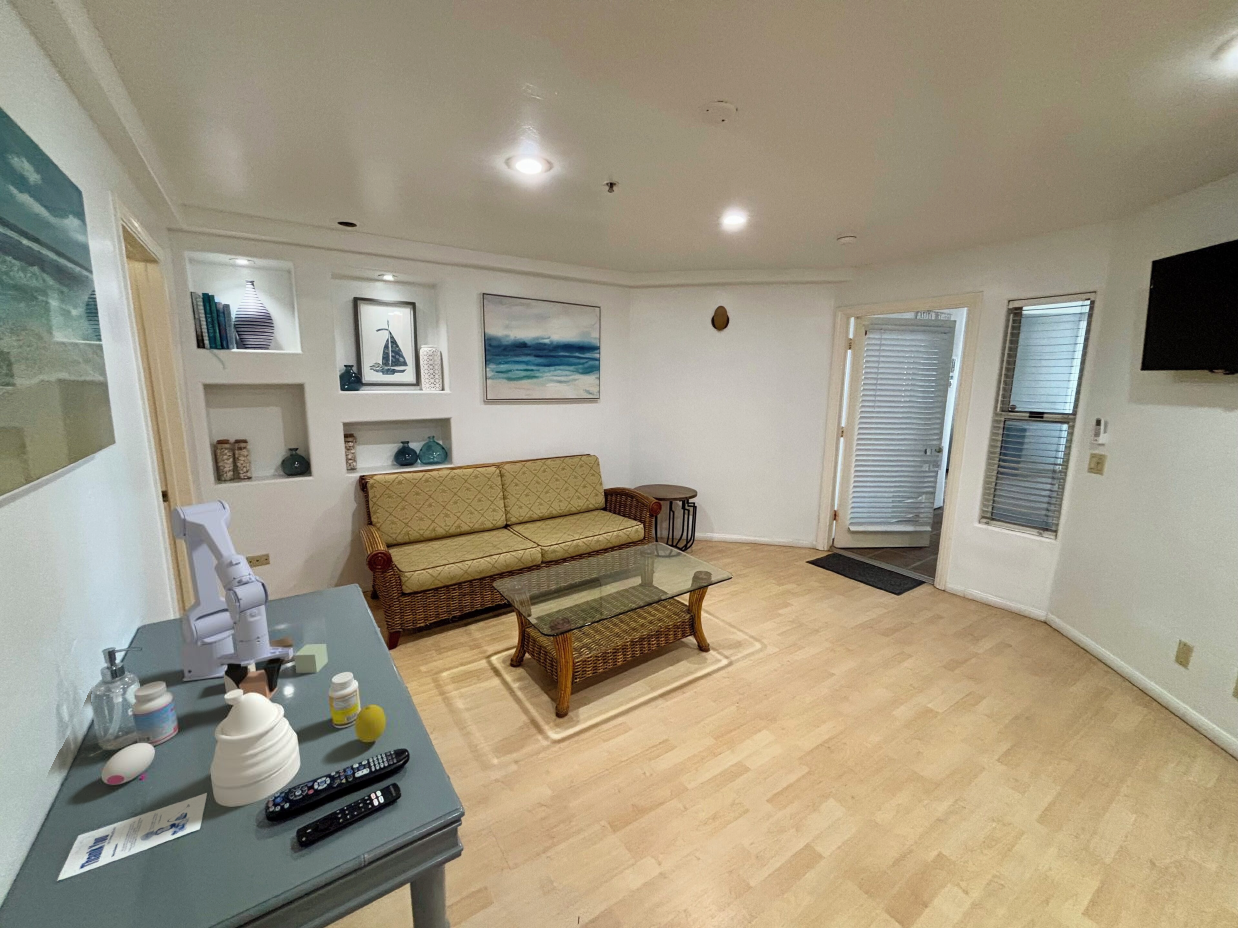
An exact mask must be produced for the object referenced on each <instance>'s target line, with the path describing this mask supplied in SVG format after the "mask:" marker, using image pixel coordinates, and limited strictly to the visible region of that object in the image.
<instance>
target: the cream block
mask: <svg viewBox="0 0 1238 928" xmlns="http://www.w3.org/2000/svg"><path fill="white" fill-rule="evenodd" d="M226 669H227V667H226ZM226 669H225V670H226ZM252 671H257V670H256V663H253V664H252V665H250V666H248V674H249V673H250V672H252ZM223 678H224V686H225V693H226V694H227V693H228V692H230V691H233V690H237V689H238V688H237V686H236V685H235V683H234V682H233V681H232V680H231V679H230V678H229V677H228V676H226V675H225V671H224V677H223Z"/></svg>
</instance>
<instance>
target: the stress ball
mask: <svg viewBox="0 0 1238 928" xmlns="http://www.w3.org/2000/svg"><path fill="white" fill-rule="evenodd" d="M155 753H156V751H155V746H152V745H150V744H148V743H138V742H137V743H134V744H131V745H128V746H125V747H124V748H122V749H121V750H118V752H117V753H115V754H114V755H113V756H112V757H110V759H109V760H108V761H107V762H106V764H105V765H104V766H103V768H101V769H102V771H101V779H102V781H103V782H104V783H105V784H107V785H112V786H113V785H114V786H115V785H121V784H125V783H127V782H129V781H131V780H134V779H135V778H137V777H139V775H140V776H141V780H144V779H146V777H147V775H143V774H142V773H143V772H144V771H146V770H147V769H148V767H149V766H150V765H151V763H152V762H153V761H154V758H155Z"/></svg>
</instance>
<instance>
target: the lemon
mask: <svg viewBox="0 0 1238 928" xmlns="http://www.w3.org/2000/svg"><path fill="white" fill-rule="evenodd" d="M386 720H387V719H386V715H385V712H384V709H383V708H382V707H381V706H379V705H378V704H368V705H366V706H364V707H363V708H361V711H360V712H359V713H358V715H357V717H356V720H355V723H354V731H355V734H356V737H357V738H358V739H359V740H360V741H362V742H363V743H374V741H376V740H378V739H379V738H380V737H381V736H382V734H383V733H384V732H385V729H386V724H387V721H386Z"/></svg>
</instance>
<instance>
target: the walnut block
mask: <svg viewBox="0 0 1238 928" xmlns="http://www.w3.org/2000/svg"><path fill="white" fill-rule="evenodd" d="M269 644H270V647H281V648H293V654H294V655H295V651H294V644H293V641H292V639H291V637H290V636H286V637H283V638H278V639H276V640H274V641H269ZM294 655H293V656H292V658H291V659H290V660H285V659H284V661H283V664H282V666H285V665H287V664H290V663H295V656H294Z"/></svg>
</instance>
